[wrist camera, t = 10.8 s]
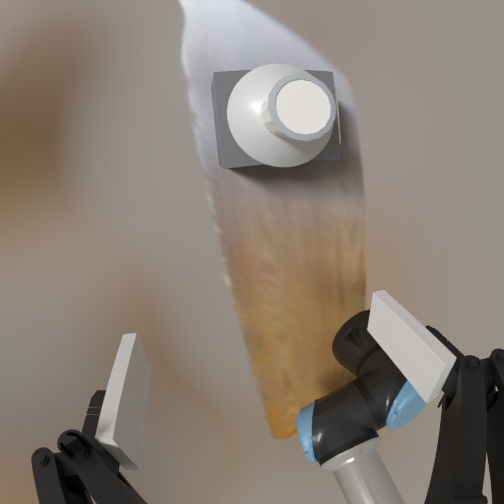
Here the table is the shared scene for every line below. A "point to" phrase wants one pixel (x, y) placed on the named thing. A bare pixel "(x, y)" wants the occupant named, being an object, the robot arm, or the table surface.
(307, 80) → the shot glass
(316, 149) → the dial scale
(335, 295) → the table surface
